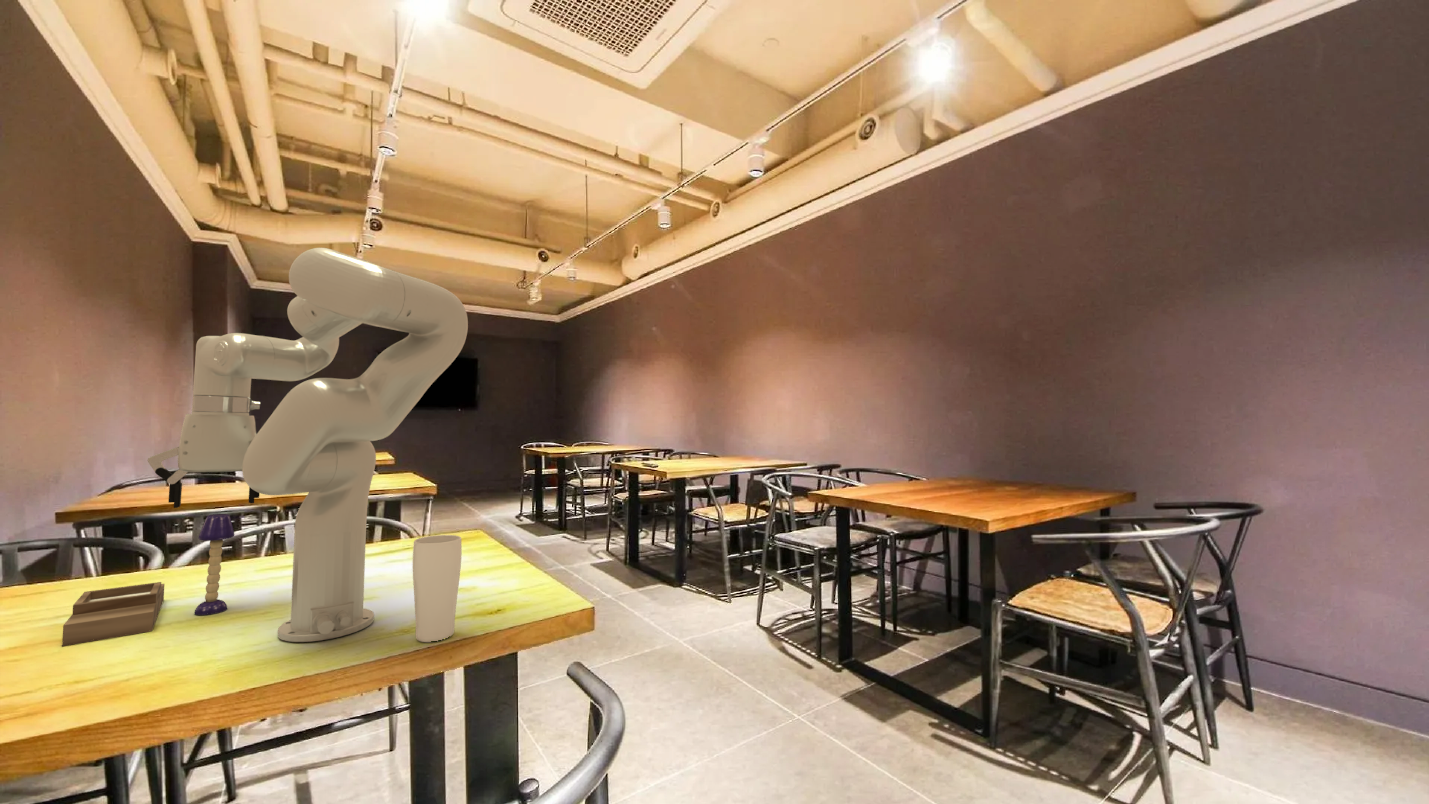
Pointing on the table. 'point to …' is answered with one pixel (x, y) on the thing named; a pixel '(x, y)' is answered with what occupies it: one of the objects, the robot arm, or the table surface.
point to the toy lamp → (214, 560)
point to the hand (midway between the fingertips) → (215, 504)
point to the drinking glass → (436, 585)
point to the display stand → (113, 613)
